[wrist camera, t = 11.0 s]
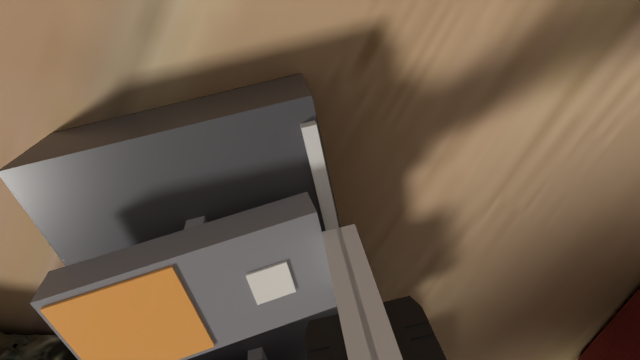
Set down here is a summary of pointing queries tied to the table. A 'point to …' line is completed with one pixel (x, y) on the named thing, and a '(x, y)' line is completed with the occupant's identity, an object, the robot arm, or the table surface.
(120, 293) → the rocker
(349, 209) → the table surface
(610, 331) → the plant pot
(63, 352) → the network switch
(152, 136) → the switched outlet strip
